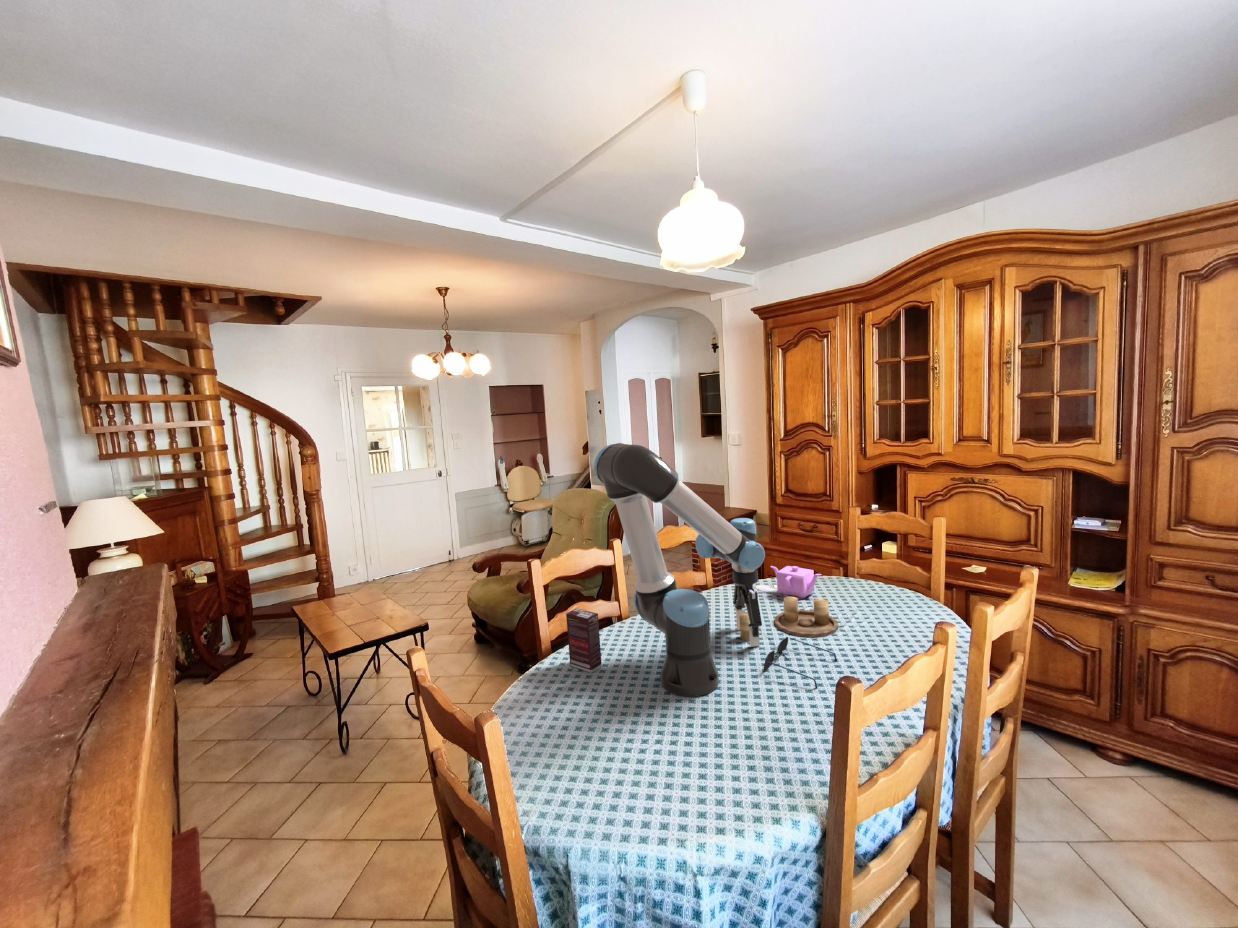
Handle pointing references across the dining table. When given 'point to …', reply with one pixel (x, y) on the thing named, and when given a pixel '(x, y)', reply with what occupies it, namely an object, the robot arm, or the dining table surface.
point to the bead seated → (821, 612)
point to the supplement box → (584, 640)
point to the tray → (806, 625)
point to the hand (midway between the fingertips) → (747, 637)
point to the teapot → (795, 581)
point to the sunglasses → (780, 648)
